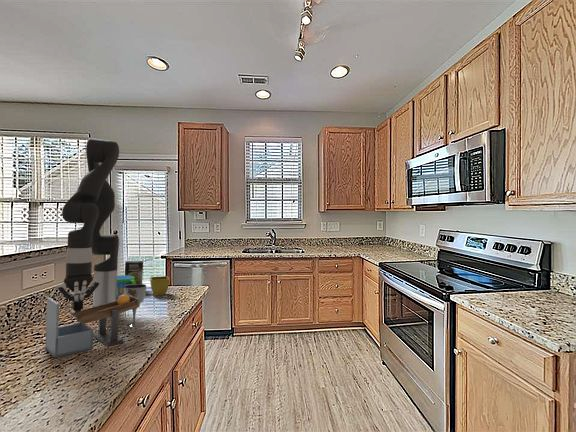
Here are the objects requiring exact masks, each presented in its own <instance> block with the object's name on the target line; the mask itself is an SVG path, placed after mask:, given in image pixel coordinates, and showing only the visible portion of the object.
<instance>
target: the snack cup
mask: <svg viewBox="0 0 576 432" xmlns="http://www.w3.org/2000/svg"><path fill="white" fill-rule="evenodd" d="M129 284H136V282H135V280H134V276H127V275H125V274H124V275H117V297H116V299H118V297H119V296H120V295H122V294H124V286H125V285H129Z"/></svg>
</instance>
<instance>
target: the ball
mask: <svg viewBox="0 0 576 432" xmlns="http://www.w3.org/2000/svg"><path fill="white" fill-rule="evenodd" d="M116 301H117V302H118V304H119V305H122V304H125V303H129V301H130V298H129V296H128V295H126V294H122V295H120V296H119V297H118V298H116Z"/></svg>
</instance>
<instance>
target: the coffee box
mask: <svg viewBox="0 0 576 432" xmlns="http://www.w3.org/2000/svg"><path fill="white" fill-rule="evenodd" d="M143 273H144V261H143V260H137V261H136V260H131V261H130V260H126V261H125V262H124V275H127V276H134V280H135V282H136V284H143Z"/></svg>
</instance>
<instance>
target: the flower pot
mask: <svg viewBox="0 0 576 432" xmlns="http://www.w3.org/2000/svg"><path fill="white" fill-rule="evenodd" d="M149 279H150V288H151V292H152V294H153V296H155V297H158V296H165V295H166V294H167V292H168V290H169V284H170V278H169V276H167V275H164V276H163V275H162V276H150V277H149Z"/></svg>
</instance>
